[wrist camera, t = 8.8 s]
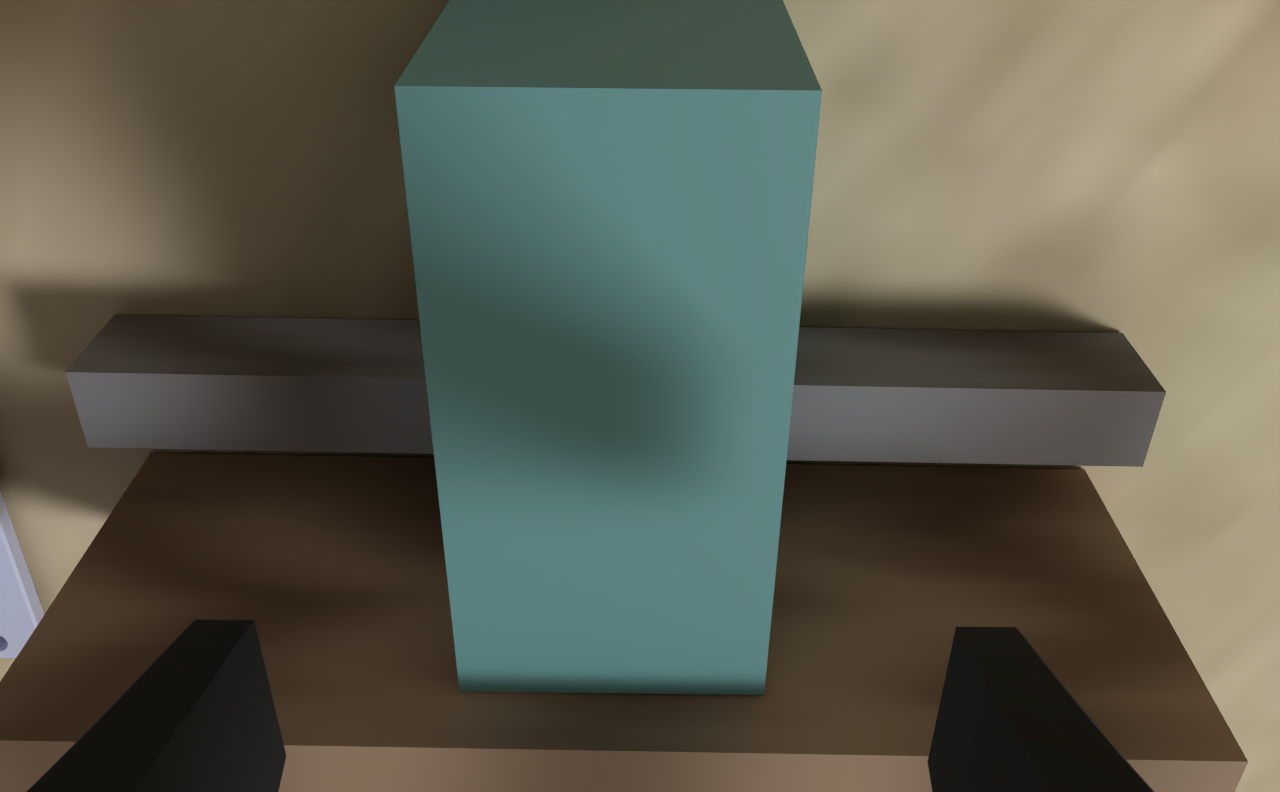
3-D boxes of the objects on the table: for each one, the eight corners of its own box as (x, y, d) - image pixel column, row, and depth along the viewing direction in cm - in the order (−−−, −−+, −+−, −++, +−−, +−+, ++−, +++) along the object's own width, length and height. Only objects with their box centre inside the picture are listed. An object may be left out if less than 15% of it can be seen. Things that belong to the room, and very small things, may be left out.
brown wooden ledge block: (172, 534, 23) (2, 831, 17) (114, 314, 20) (-110, 576, 14) (1061, 549, 23) (1207, 851, 17) (1122, 332, 20) (1320, 600, 14)
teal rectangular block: (503, 457, 22) (459, 691, 17) (471, -33, 17) (393, 86, 12) (736, 459, 22) (763, 695, 17) (769, -30, 17) (822, 90, 12)
